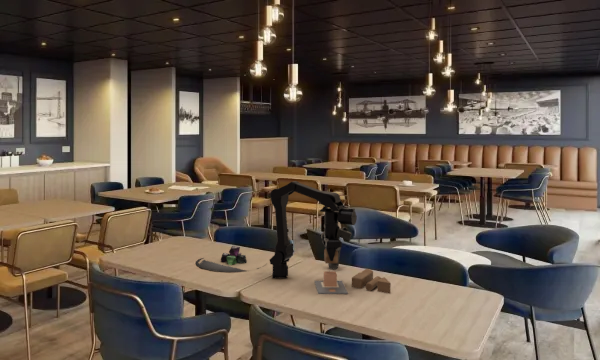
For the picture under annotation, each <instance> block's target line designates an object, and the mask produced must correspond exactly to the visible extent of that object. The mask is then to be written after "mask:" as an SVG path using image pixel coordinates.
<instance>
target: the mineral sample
mask: <svg viewBox="0 0 600 360" xmlns="http://www.w3.org/2000/svg"><path fill="white" fill-rule="evenodd" d="M240 249H241V247H240V246H235V245H232V246H231V247H230V249H229V251H228V253H226V252H223V253H222V255H221V257H220V261H221V262H222V263H227V265H224V264H220V263H217V262H213V261H210V260H206V259H205V257H203V258H201V257H200V258H199V259H197V260H196V261H195V265H196V266H197V267H199V268H200V269H202V270H203V269H204V270H208V271H212V272H213V271H214V272H223V273H236V272H237V273H238V272H239V273H240V272H247V271H248V270H245V269H242V268H238V267H233V266H232V265H237V264H247V261H248V260H247V256H246V254H242V252H240ZM265 266H266V264H264V265H263V267H265ZM258 269H260V267H258V268H257V270H258Z"/></svg>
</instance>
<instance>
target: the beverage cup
mask: <svg viewBox="0 0 600 360" xmlns="http://www.w3.org/2000/svg"><path fill="white" fill-rule="evenodd" d="M336 239H337V238H336ZM339 240H340V241H341V242H342V240H341V238H340V239H339ZM336 250H337V251H338V263H327V264H328V269H330V270H332V271H333V270H334V271H335V270H338V269H339V265H340V259H341V257H340V255H341V250H342V247H339V248H337V249H336Z"/></svg>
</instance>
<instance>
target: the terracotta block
mask: <svg viewBox="0 0 600 360" xmlns="http://www.w3.org/2000/svg"><path fill="white" fill-rule="evenodd" d="M322 281H323V283H324V286H337V281H338V274H337V272H336V271H335V270H334V271H333V270H332V271H330V270H329V271H325V270H324V271H323V280H322Z"/></svg>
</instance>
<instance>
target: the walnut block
mask: <svg viewBox="0 0 600 360" xmlns="http://www.w3.org/2000/svg"><path fill="white" fill-rule="evenodd" d="M323 253H324V254H323V257H324V258H323V261H324V263H325V264H328V263H338V251H337V250H336V252H335V255H334V259H333V261H330V258H329V256H328V253H327V250H326V249H325V248H324V250H323Z"/></svg>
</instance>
